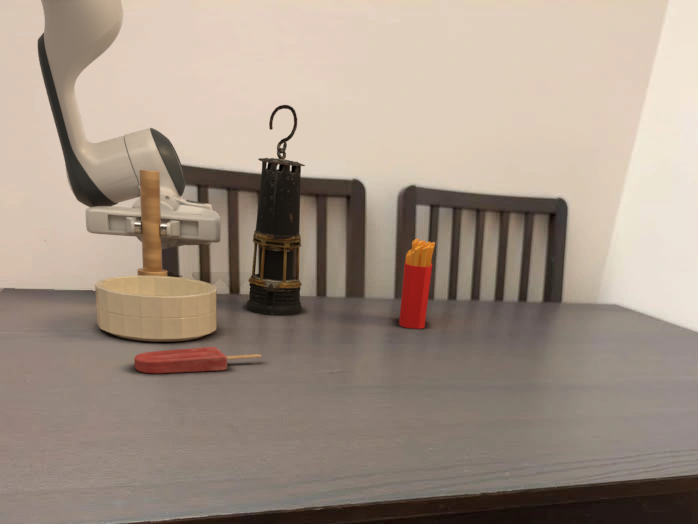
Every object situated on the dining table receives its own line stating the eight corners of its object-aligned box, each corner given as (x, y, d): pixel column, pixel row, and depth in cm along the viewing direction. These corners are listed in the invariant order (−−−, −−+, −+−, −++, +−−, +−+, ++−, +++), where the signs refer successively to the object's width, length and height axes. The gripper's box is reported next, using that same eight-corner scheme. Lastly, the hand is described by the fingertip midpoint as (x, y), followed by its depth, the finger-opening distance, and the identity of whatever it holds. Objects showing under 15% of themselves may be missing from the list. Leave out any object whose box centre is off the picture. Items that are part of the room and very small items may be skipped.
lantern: (268, 316, 113) (274, 101, 101) (234, 305, 119) (236, 100, 107) (312, 312, 119) (323, 108, 107) (278, 301, 125) (285, 106, 113)
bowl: (78, 323, 100) (74, 278, 98) (177, 313, 110) (177, 273, 108) (135, 349, 90) (133, 300, 88) (238, 336, 100) (239, 292, 98)
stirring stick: (132, 288, 112) (127, 168, 105) (158, 286, 115) (155, 170, 108) (147, 293, 109) (143, 170, 102) (173, 292, 112) (171, 172, 105)
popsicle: (267, 353, 86) (138, 361, 80) (267, 367, 87) (139, 376, 81) (255, 343, 90) (130, 351, 83) (254, 357, 91) (131, 365, 84)
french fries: (398, 317, 121) (407, 235, 116) (424, 319, 121) (433, 238, 116) (398, 328, 113) (407, 241, 108) (426, 331, 113) (436, 244, 108)
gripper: (91, 194, 117) (75, 200, 104) (221, 204, 120) (220, 211, 108) (93, 235, 119) (78, 246, 107) (220, 244, 123) (220, 255, 111)
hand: (150, 229), depth 107 cm, fingers closed on stirring stick, 3 cm apart
